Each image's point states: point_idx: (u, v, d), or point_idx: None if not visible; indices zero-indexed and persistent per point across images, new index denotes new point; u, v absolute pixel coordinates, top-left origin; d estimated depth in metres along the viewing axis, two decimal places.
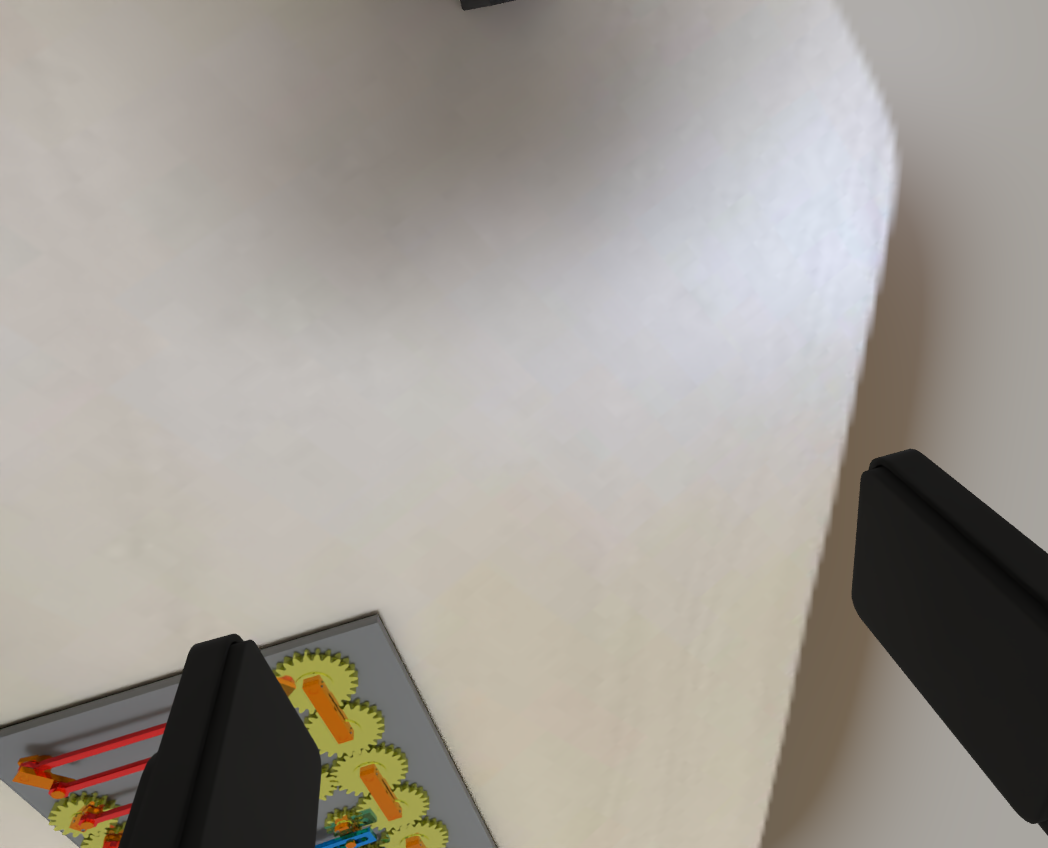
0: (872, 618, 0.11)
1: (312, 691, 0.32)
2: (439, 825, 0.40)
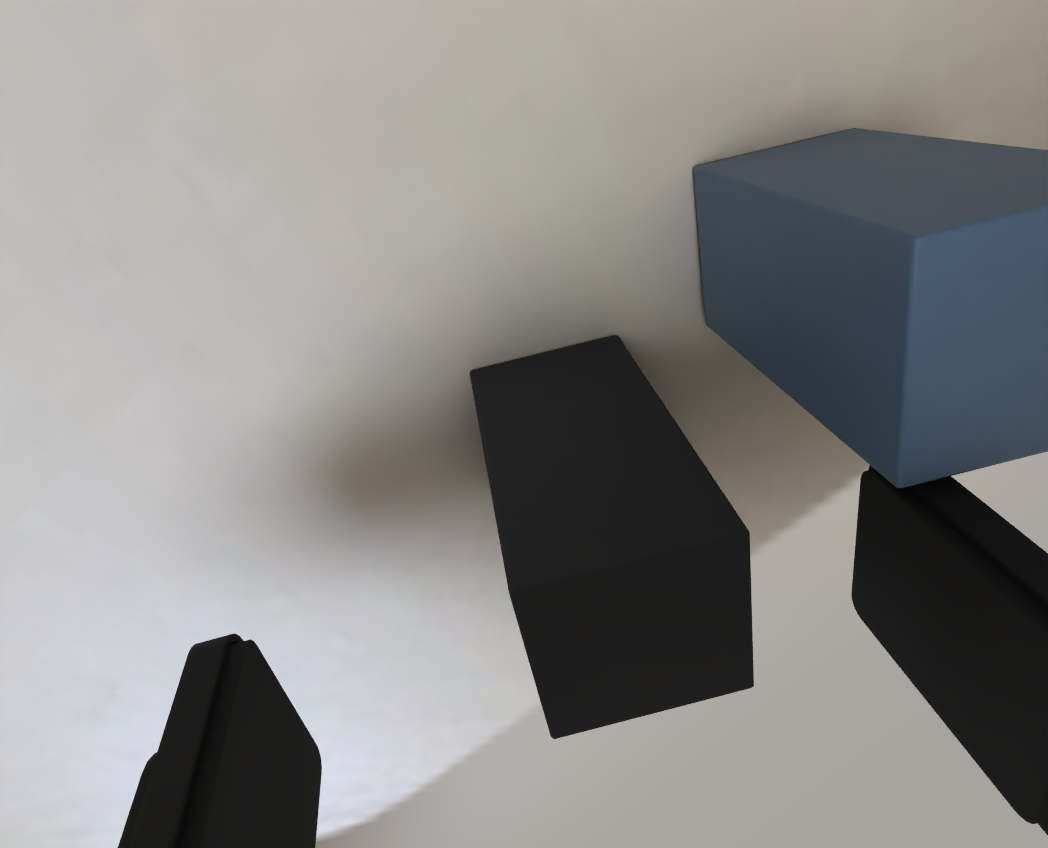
0: (872, 618, 0.11)
1: None
2: None
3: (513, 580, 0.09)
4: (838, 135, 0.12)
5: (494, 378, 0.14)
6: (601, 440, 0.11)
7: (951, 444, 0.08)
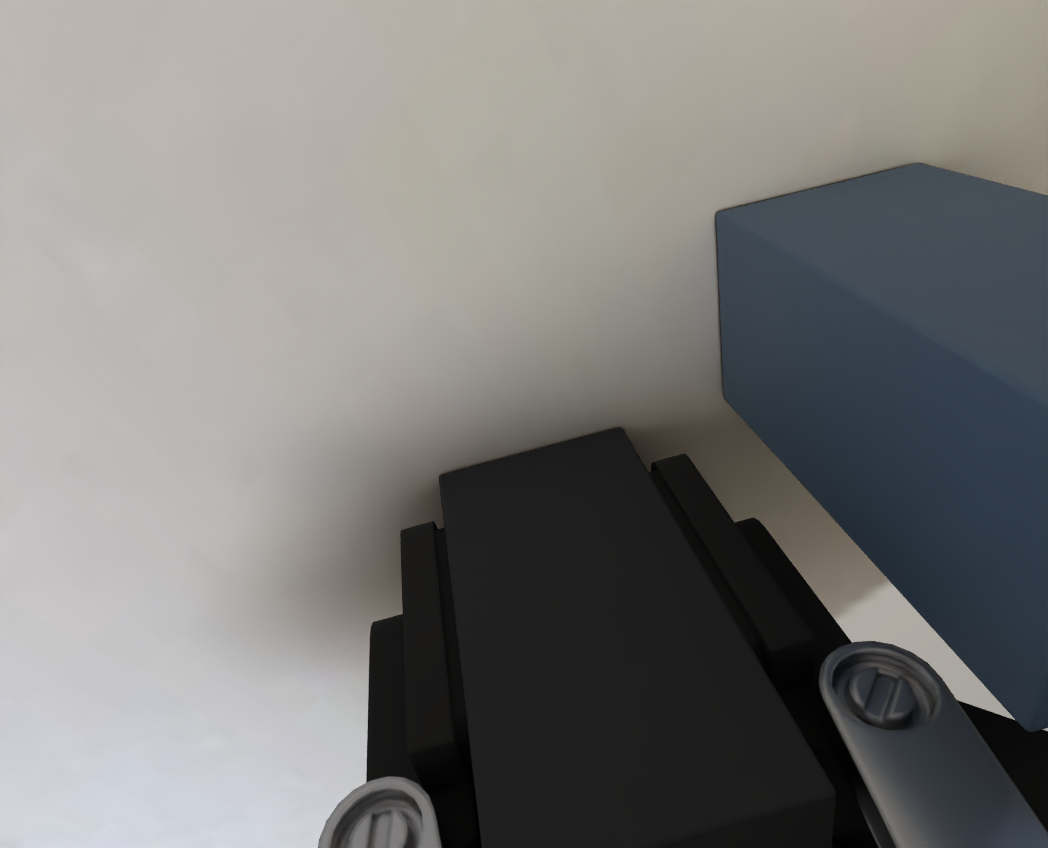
0: None
1: None
2: None
3: None
4: (902, 175, 0.10)
5: (468, 487, 0.11)
6: (610, 602, 0.08)
7: None
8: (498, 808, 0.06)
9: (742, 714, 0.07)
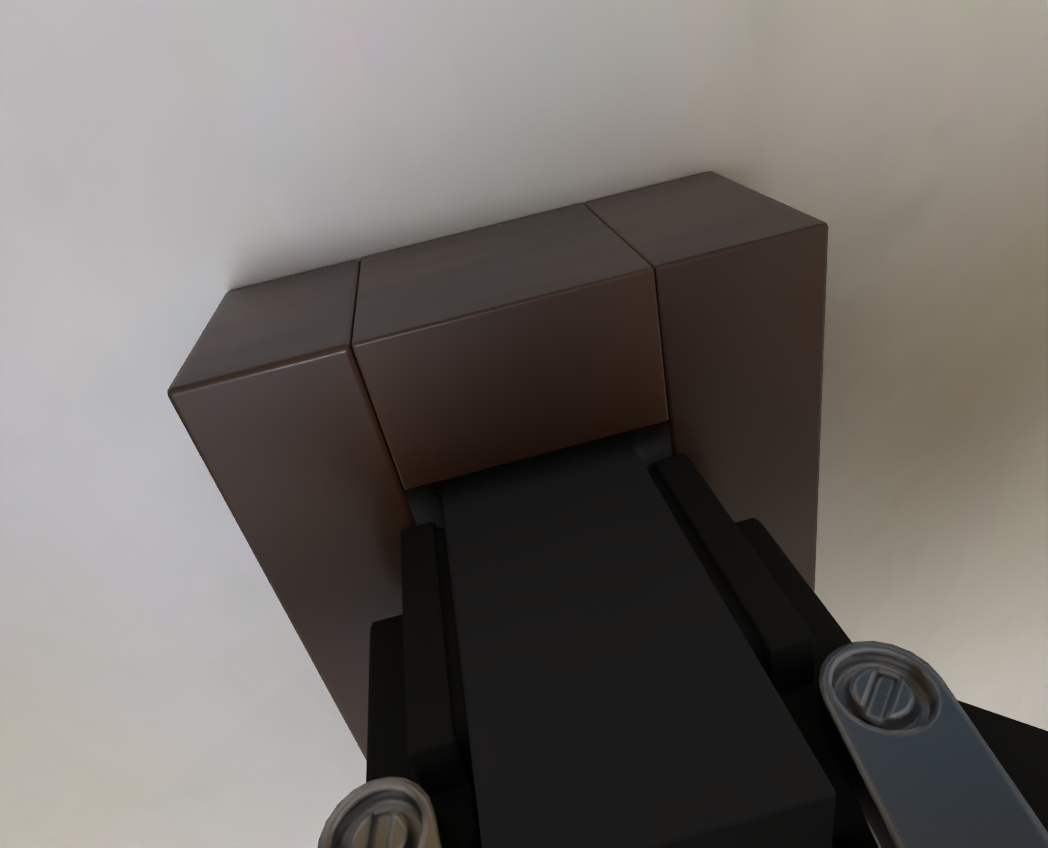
0: None
1: None
2: None
3: None
4: None
5: (468, 488, 0.11)
6: (610, 601, 0.08)
7: None
8: (498, 809, 0.06)
9: (742, 715, 0.07)
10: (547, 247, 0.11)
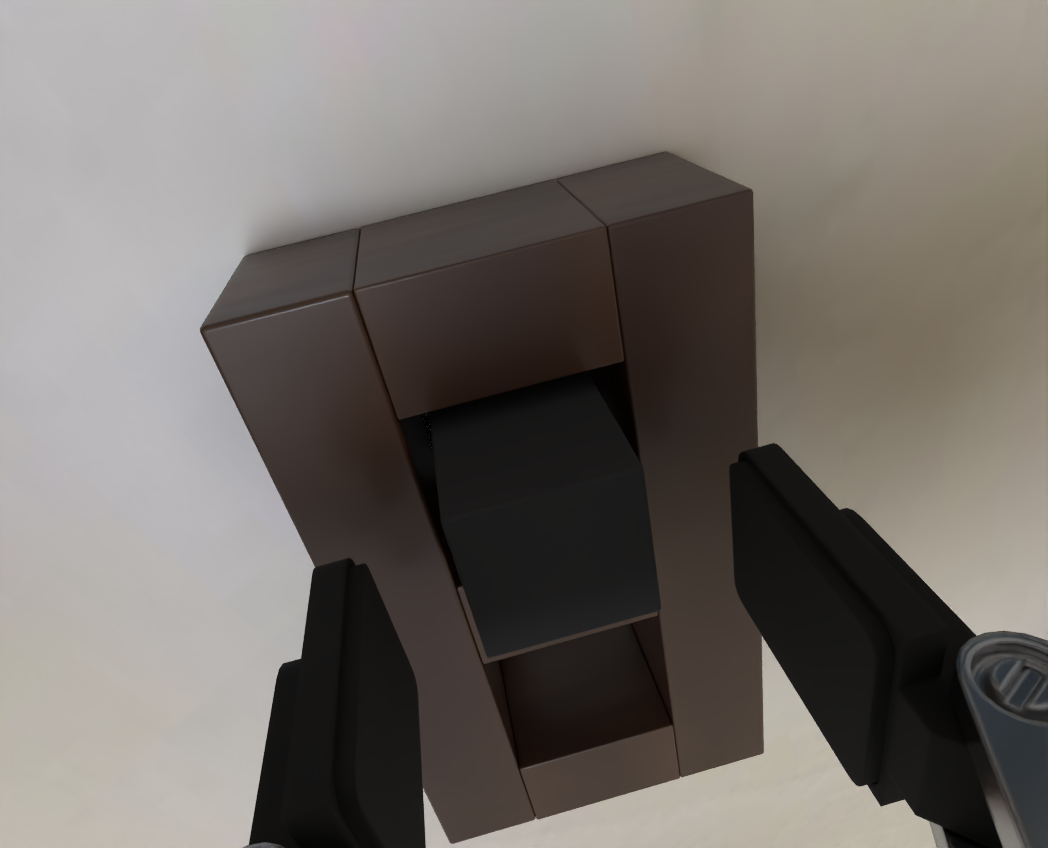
0: (748, 602, 0.11)
1: None
2: None
3: (445, 512, 0.10)
4: None
5: None
6: (530, 401, 0.13)
7: None
8: (450, 490, 0.11)
9: (599, 442, 0.11)
10: (521, 214, 0.13)
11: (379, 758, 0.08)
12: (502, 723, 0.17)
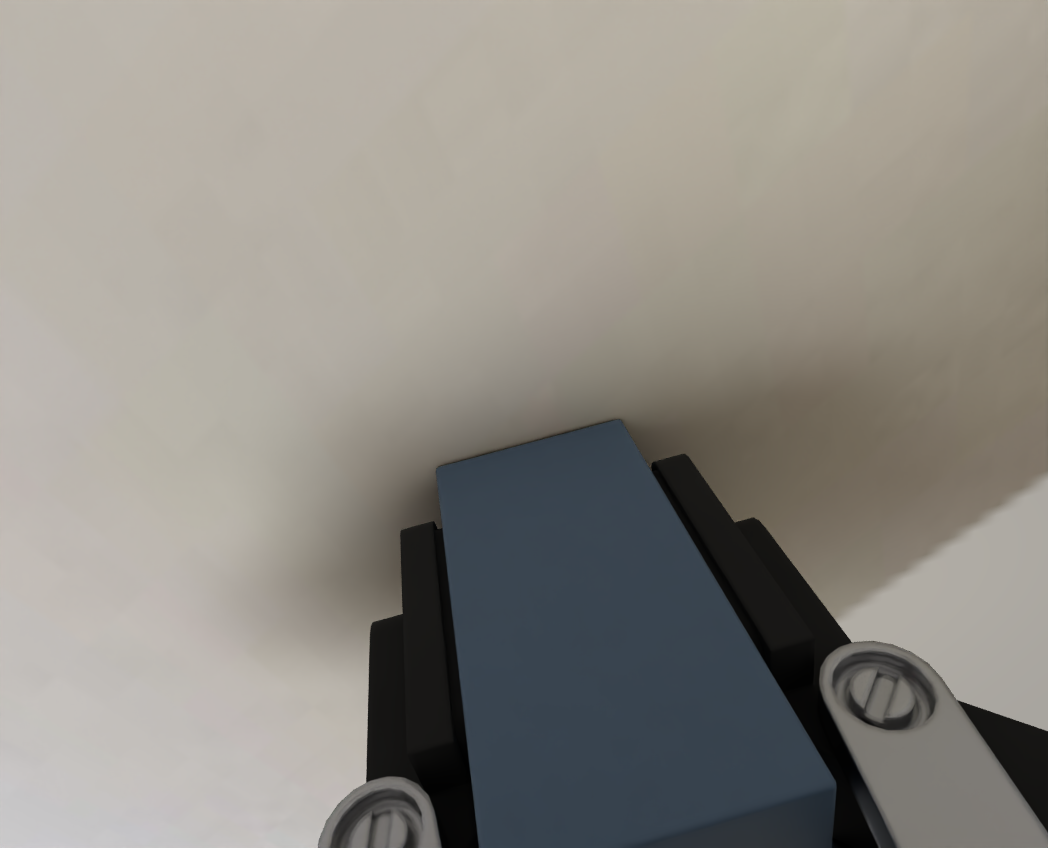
0: None
1: None
2: None
3: None
4: (593, 438, 0.11)
5: None
6: None
7: None
8: None
9: None
10: None
11: None
12: None
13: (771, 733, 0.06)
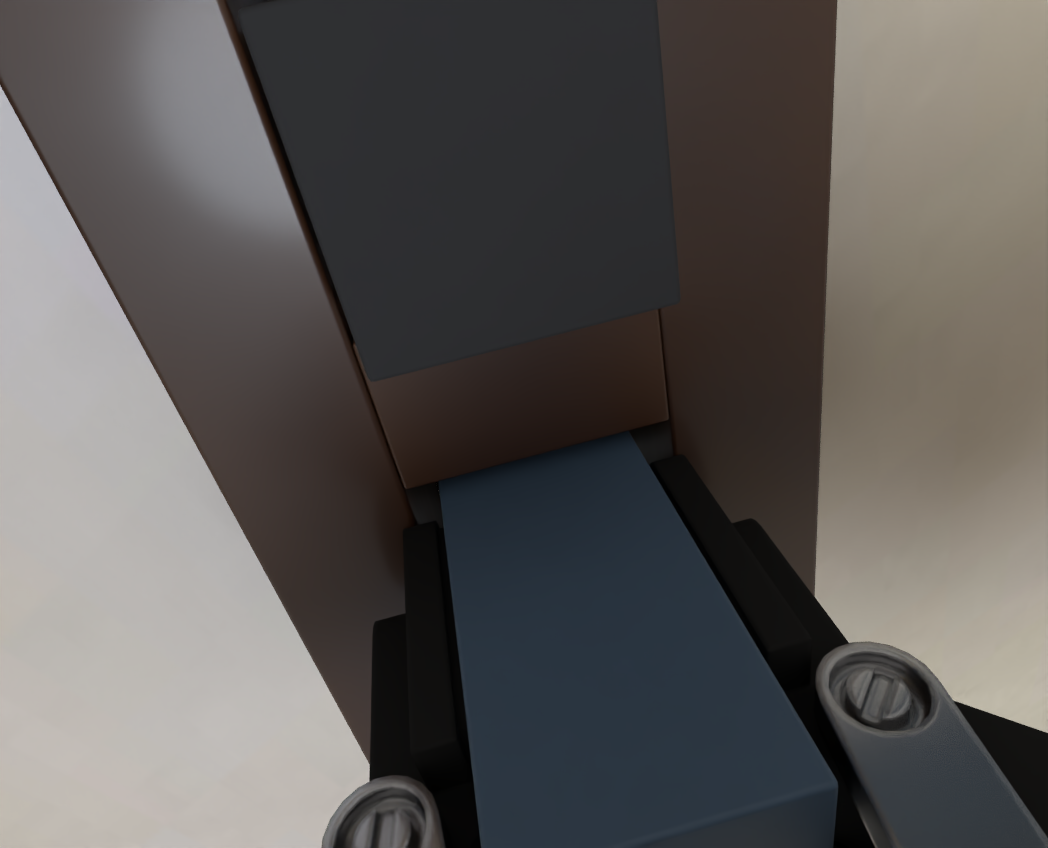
0: None
1: None
2: None
3: None
4: None
5: None
6: None
7: None
8: None
9: None
10: None
11: None
12: None
13: (772, 733, 0.06)
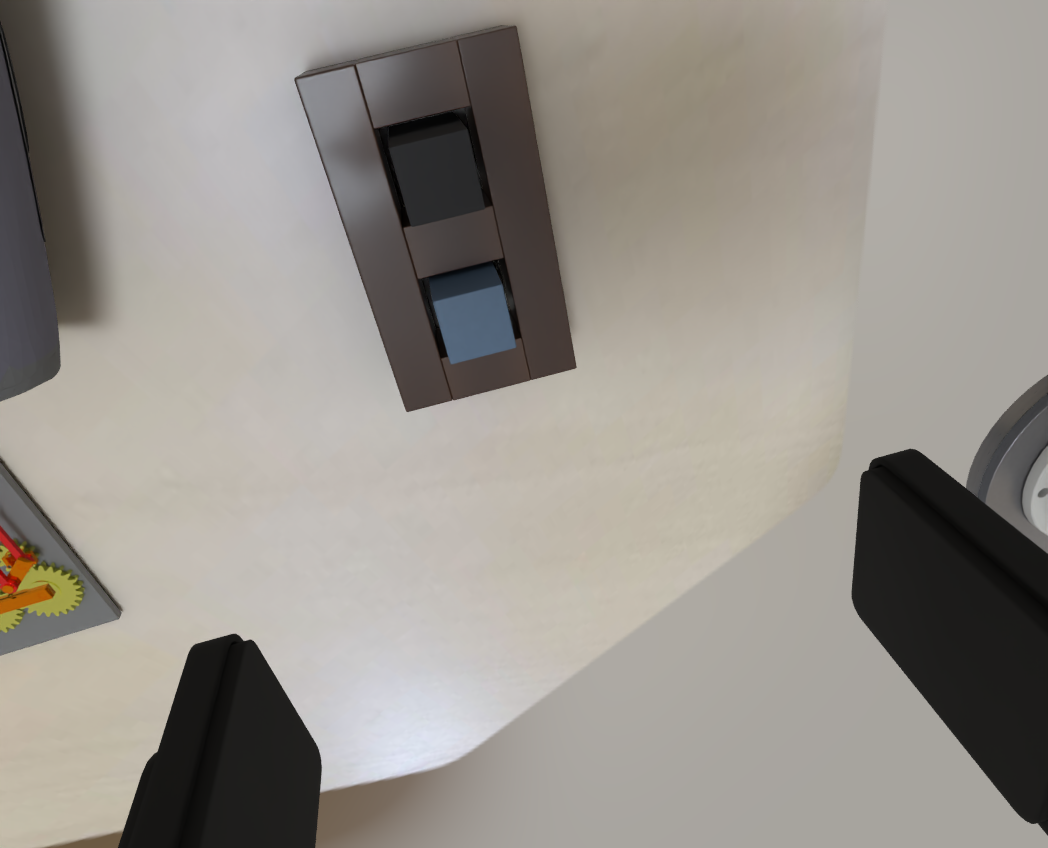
0: (872, 618, 0.11)
1: (41, 595, 0.40)
2: None
3: (390, 146, 0.27)
4: None
5: (398, 126, 0.32)
6: (432, 126, 0.29)
7: (461, 352, 0.32)
8: (393, 143, 0.27)
9: (454, 128, 0.28)
10: (427, 44, 0.29)
11: None
12: (430, 323, 0.33)
13: (493, 281, 0.31)
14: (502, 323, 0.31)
